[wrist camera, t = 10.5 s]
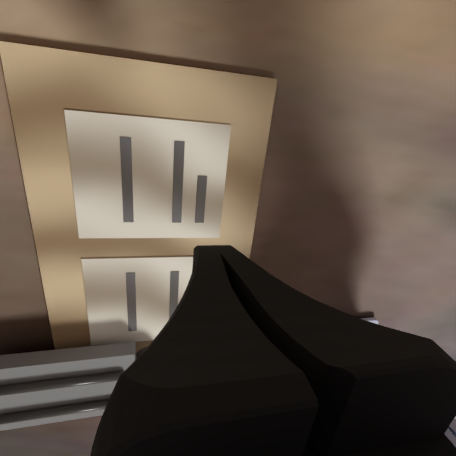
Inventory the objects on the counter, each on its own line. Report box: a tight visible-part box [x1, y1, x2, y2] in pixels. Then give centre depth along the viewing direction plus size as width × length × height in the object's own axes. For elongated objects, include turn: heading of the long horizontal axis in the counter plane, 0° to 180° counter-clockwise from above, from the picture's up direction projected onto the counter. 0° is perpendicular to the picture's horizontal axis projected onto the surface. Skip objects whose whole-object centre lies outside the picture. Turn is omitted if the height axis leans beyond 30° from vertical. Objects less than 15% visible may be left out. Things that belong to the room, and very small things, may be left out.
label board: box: [0, 41, 277, 358], centre depth 20 cm, size 23×14×1 cm, turn 174°
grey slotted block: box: [0, 342, 137, 431], centre depth 21 cm, size 12×6×2 cm, turn 85°
